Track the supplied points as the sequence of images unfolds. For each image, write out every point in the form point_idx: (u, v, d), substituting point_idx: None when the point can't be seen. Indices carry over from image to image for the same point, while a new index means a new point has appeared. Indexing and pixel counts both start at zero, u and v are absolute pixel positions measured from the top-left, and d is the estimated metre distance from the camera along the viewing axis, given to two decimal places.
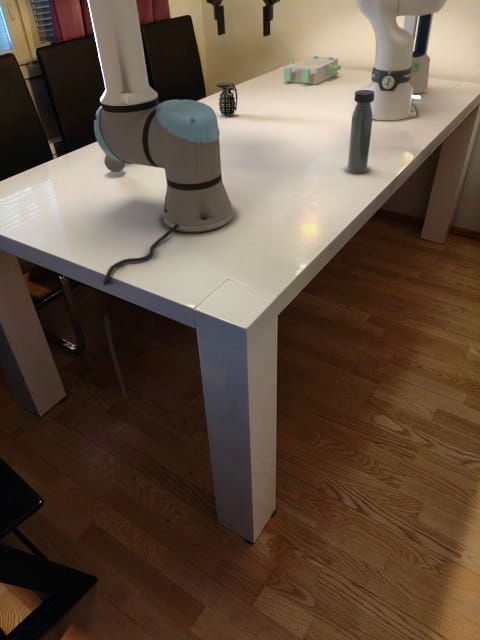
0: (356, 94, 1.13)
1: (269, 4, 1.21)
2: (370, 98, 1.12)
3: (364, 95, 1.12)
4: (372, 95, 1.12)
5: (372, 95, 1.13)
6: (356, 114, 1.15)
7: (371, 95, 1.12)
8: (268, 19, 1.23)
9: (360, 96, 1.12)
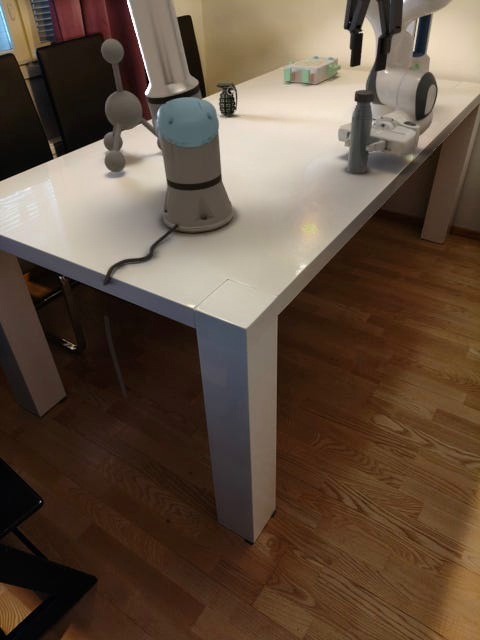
0: (356, 94, 1.13)
1: None
2: (370, 98, 1.12)
3: (364, 95, 1.12)
4: (372, 95, 1.12)
5: (372, 95, 1.13)
6: (356, 114, 1.15)
7: (371, 95, 1.12)
8: None
9: (360, 96, 1.12)
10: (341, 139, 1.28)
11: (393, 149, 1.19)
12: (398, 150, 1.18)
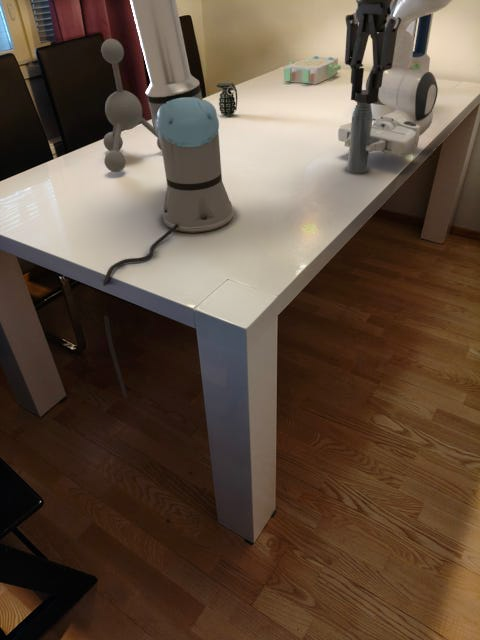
0: (356, 94, 1.13)
1: None
2: None
3: (364, 95, 1.12)
4: None
5: None
6: (356, 114, 1.15)
7: None
8: None
9: (360, 96, 1.12)
10: (341, 139, 1.28)
11: (393, 149, 1.19)
12: (398, 150, 1.18)
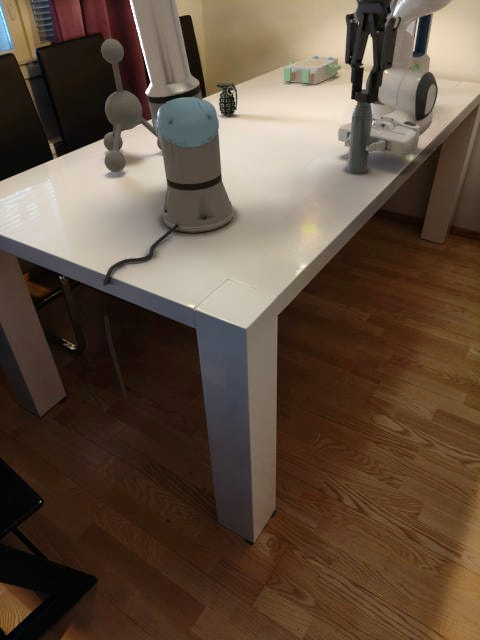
0: None
1: None
2: None
3: None
4: None
5: None
6: (356, 114, 1.15)
7: None
8: None
9: None
10: (341, 139, 1.28)
11: (393, 149, 1.19)
12: (398, 150, 1.18)
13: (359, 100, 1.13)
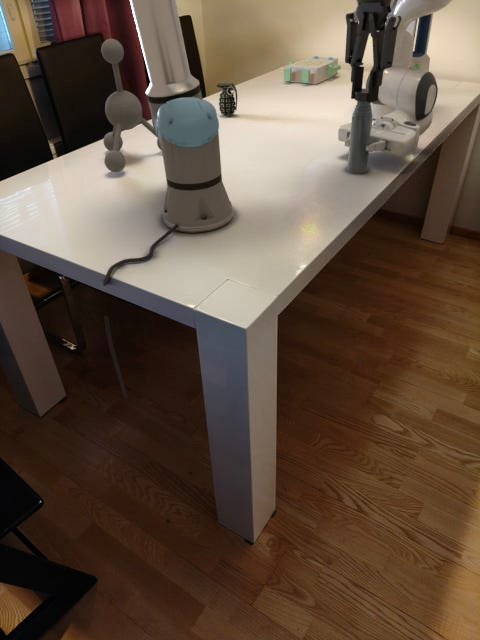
0: None
1: None
2: (355, 95, 1.14)
3: None
4: (356, 93, 1.13)
5: (356, 94, 1.13)
6: (356, 114, 1.15)
7: (356, 93, 1.13)
8: None
9: None
10: (341, 139, 1.28)
11: (393, 149, 1.19)
12: (398, 150, 1.18)
13: None
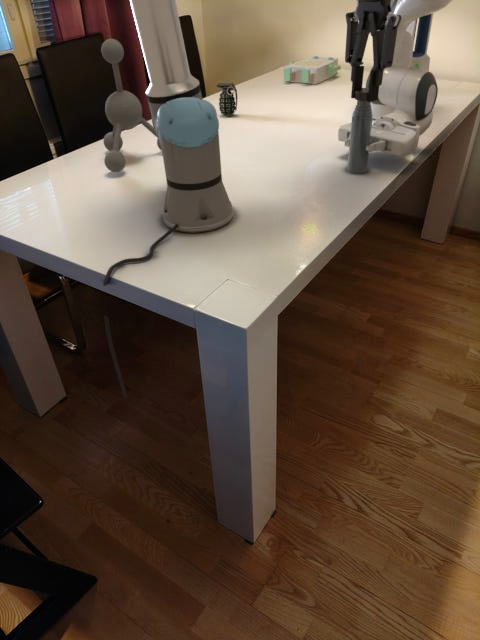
0: (356, 92, 1.13)
1: None
2: None
3: (365, 93, 1.12)
4: None
5: None
6: (356, 114, 1.15)
7: None
8: None
9: (361, 94, 1.12)
10: (341, 139, 1.28)
11: (393, 149, 1.19)
12: (398, 150, 1.18)
13: None
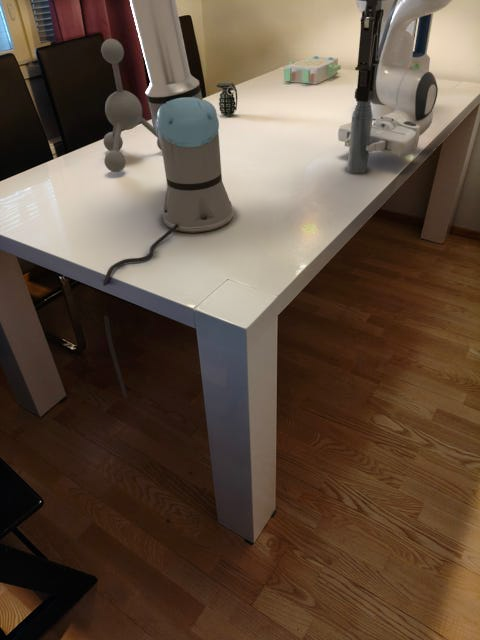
0: (373, 91, 1.12)
1: (358, 69, 1.08)
2: None
3: None
4: None
5: None
6: (356, 114, 1.15)
7: None
8: None
9: None
10: (341, 139, 1.28)
11: (393, 149, 1.19)
12: (398, 150, 1.18)
13: None
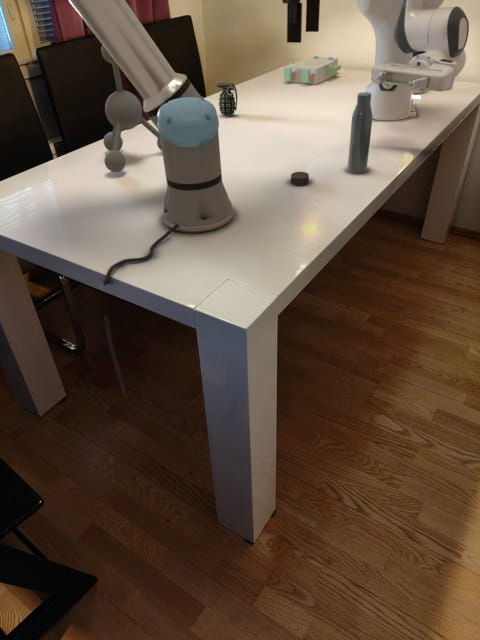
0: (307, 177, 1.18)
1: (286, 1, 0.91)
2: None
3: None
4: None
5: None
6: (356, 114, 1.15)
7: None
8: None
9: (308, 176, 1.19)
10: None
11: (430, 85, 1.18)
12: (435, 85, 1.18)
13: (295, 183, 1.19)
